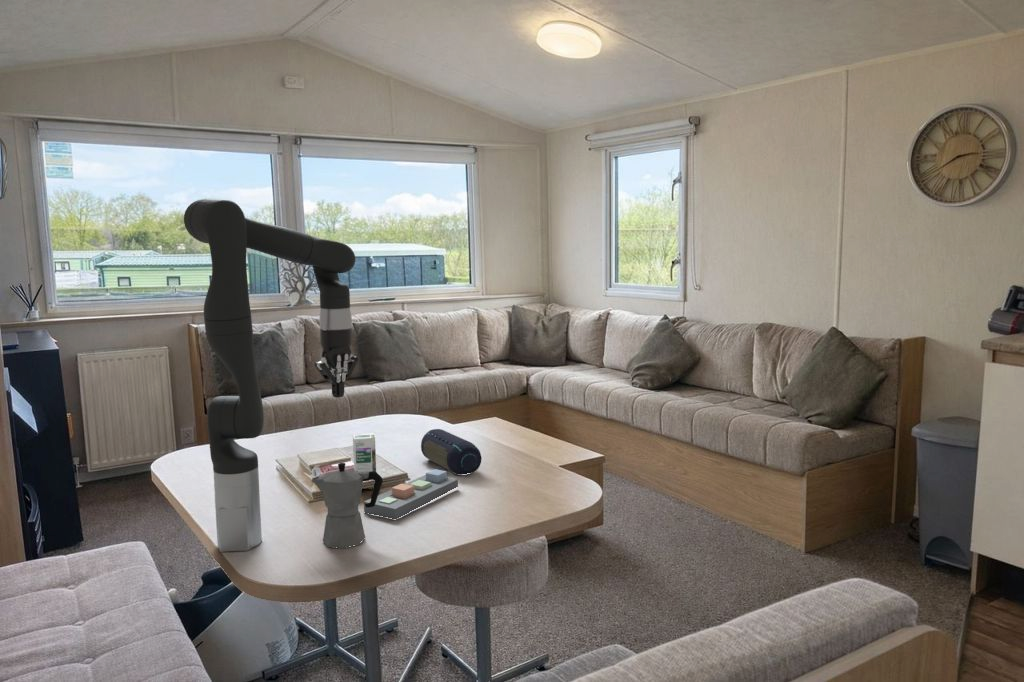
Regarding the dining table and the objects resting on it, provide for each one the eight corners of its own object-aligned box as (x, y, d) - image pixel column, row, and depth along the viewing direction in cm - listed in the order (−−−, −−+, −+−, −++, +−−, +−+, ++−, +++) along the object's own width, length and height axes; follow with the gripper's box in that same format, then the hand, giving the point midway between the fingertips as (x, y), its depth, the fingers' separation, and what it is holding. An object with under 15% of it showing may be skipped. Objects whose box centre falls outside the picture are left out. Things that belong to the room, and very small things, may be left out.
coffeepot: (312, 551, 155) (309, 471, 152) (315, 535, 164) (312, 458, 162) (384, 546, 158) (382, 466, 155) (383, 529, 167) (381, 454, 165)
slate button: (438, 488, 191) (437, 475, 191) (426, 485, 194) (425, 473, 193) (446, 483, 195) (446, 471, 194) (435, 481, 197) (434, 469, 196)
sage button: (421, 499, 186) (421, 486, 185) (409, 496, 188) (409, 483, 187) (431, 495, 189) (430, 482, 189) (419, 492, 191) (419, 479, 191)
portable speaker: (416, 460, 223) (415, 428, 222) (444, 454, 228) (444, 424, 227) (455, 481, 202) (454, 447, 201) (485, 475, 207) (485, 441, 206)
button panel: (395, 520, 172) (395, 507, 172) (364, 513, 177) (363, 500, 177) (458, 490, 194) (457, 478, 194) (428, 484, 199) (428, 472, 199)
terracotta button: (404, 503, 180) (403, 490, 179) (391, 501, 182) (391, 487, 181) (414, 499, 183) (414, 485, 183) (402, 496, 185) (401, 483, 185)
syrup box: (355, 491, 194) (353, 438, 192) (354, 484, 199) (352, 433, 198) (376, 489, 195) (375, 437, 193) (375, 482, 201) (373, 432, 199)
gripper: (344, 323, 181) (346, 391, 183) (304, 328, 170) (306, 400, 172) (366, 325, 177) (368, 393, 179) (327, 330, 166) (329, 403, 168)
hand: (338, 396), depth 175 cm, fingers closed
